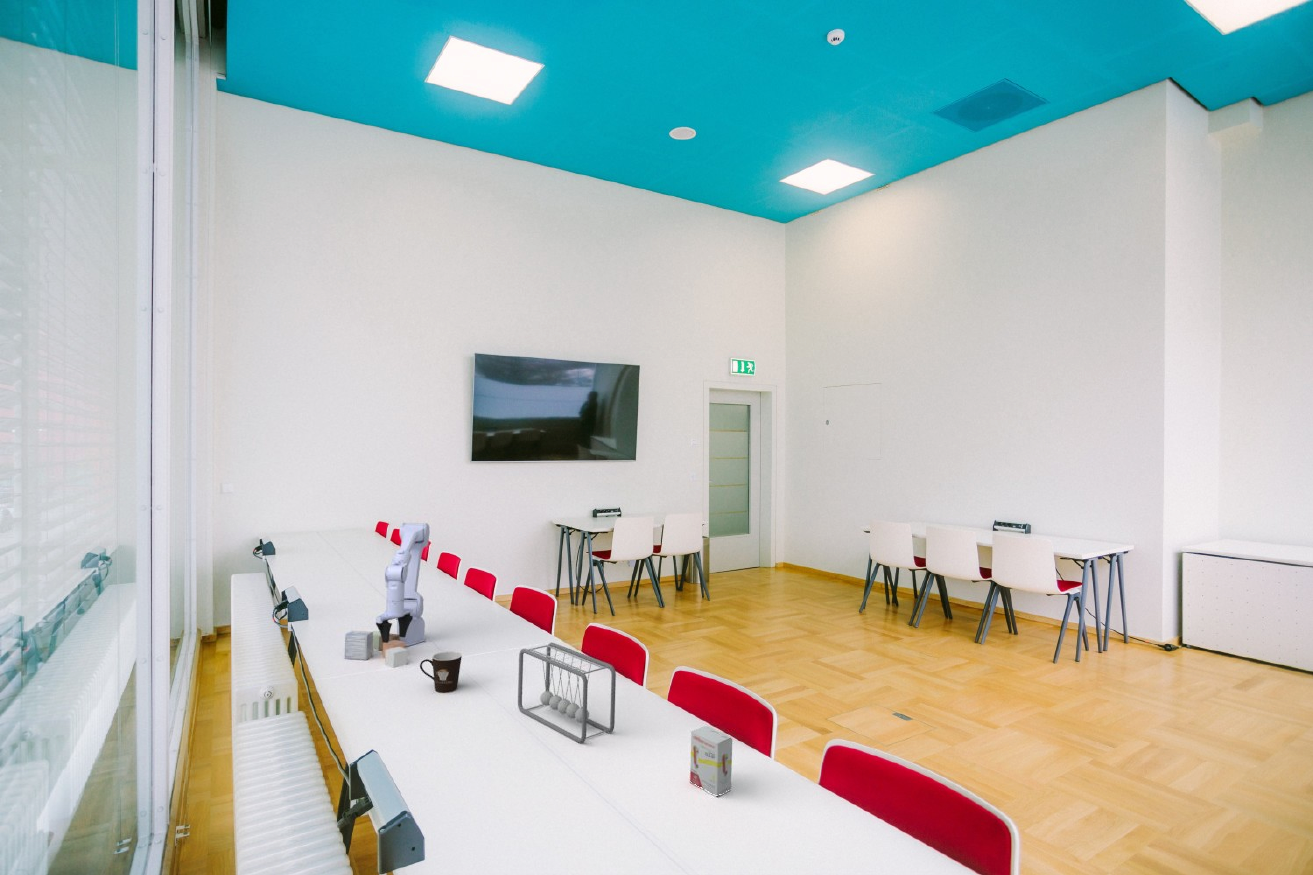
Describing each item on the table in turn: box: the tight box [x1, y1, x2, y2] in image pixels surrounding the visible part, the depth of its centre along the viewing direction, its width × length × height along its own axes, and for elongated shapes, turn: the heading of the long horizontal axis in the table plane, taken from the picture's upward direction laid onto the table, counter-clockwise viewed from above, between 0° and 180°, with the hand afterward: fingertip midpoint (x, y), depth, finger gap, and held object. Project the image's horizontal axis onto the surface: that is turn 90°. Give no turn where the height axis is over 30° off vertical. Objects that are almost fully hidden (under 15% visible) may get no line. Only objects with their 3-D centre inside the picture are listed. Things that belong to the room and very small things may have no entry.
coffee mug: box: [419, 651, 463, 694], centre depth 206 cm, size 12×9×10 cm
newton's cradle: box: [517, 642, 617, 744], centre depth 184 cm, size 30×10×18 cm, turn 44°
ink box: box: [689, 725, 733, 795], centre depth 151 cm, size 9×5×12 cm, turn 42°
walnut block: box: [378, 633, 400, 652], centre depth 243 cm, size 5×5×5 cm
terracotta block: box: [382, 640, 406, 659], centre depth 235 cm, size 5×5×5 cm
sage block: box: [372, 630, 381, 650], centre depth 246 cm, size 5×5×5 cm
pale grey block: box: [384, 647, 409, 669], centre depth 227 cm, size 5×5×5 cm
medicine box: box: [344, 630, 374, 661], centre depth 233 cm, size 8×4×9 cm, turn 84°
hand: (394, 639), depth 235 cm, fingers open, 7 cm apart
